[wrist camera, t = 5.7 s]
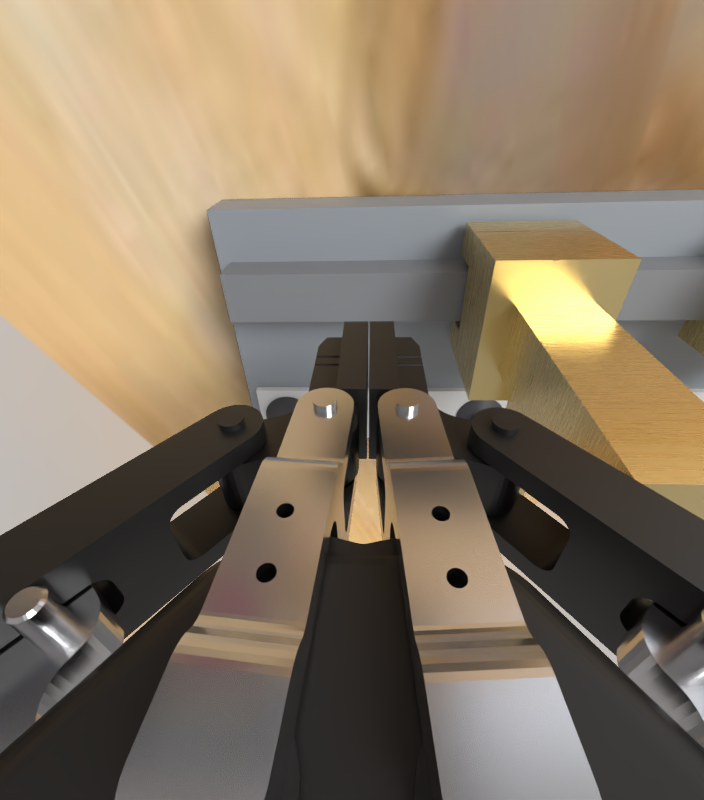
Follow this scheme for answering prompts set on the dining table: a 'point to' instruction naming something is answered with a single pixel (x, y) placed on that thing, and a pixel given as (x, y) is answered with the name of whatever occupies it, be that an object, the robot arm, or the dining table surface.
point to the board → (438, 239)
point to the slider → (575, 352)
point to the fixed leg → (693, 334)
